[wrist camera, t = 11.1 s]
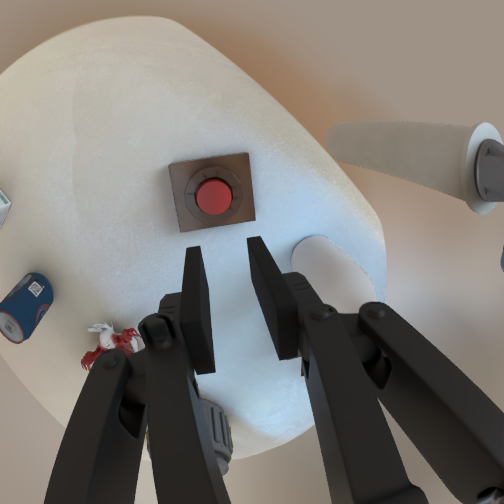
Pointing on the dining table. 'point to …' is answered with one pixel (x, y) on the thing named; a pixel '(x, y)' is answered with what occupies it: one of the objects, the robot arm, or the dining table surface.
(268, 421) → the dining table surface
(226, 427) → the decorative lamp
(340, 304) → the milk bottle
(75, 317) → the dining table surface
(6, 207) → the syrup box
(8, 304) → the soda can
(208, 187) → the button
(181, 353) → the robot arm
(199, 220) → the button block
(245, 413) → the dining table surface
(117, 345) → the figurine
